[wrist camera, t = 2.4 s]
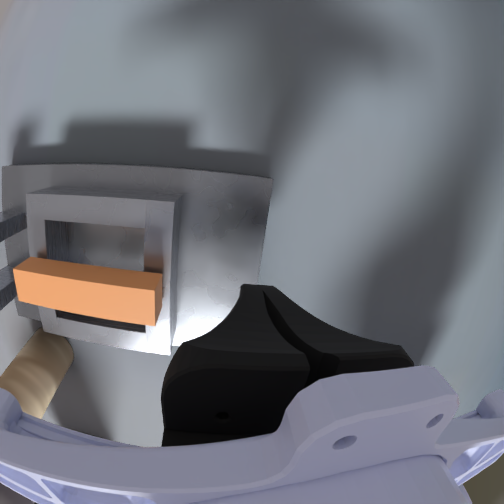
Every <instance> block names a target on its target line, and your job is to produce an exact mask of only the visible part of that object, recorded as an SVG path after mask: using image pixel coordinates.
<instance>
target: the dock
mask: <svg viewBox="0 0 504 504" xmlns="http://www.w3.org/2000/svg"><path fill="white" fill-rule="evenodd" d="M272 184H273V179H271V178H268V177H261V176H253V175H245V174H237V173H229V172H219V171H210V170H199V169H188V168H176V167H162V166H146V165H126V164H88V163H60V164H24V165H9V166H3V167H2V209H3V212H0V242H1V241H3V240H5V246H6V254H7V261H8V265H7V266H6V267H4V268H3V269H1V270H0V310H2V309H3V308H4V307H5V306H6V305H7V304H8V303H9V302H10V301H12V300H13V299H15V303H16V308H17V312H18V315H19V316H23V317H27V318H30V319H34V320H38V321H41V322H42V326H43V330H44V332H48V333H52V334H56V335H60V336H64V337H69V338H73V339H77V340H82V341H87V342H91V343H96V344H101V345H107V346H112V347H118V348H124V349H130V350H136V351H142V352H149V353H157V354H164V355H170V354H171V349H172V345H175V346H180V345H181V343H183V342H185V341H188V340H191V339H194V338H197V337H199V336H202V335H204V334H206V333H208V332H209V331H211V330H212V329H214V328H215V327H216V326H217V325H218V324H219V323H221V322H222V321H223V320H224V319H225V318H226V316H227V315H228V314H229V313H230V311H231V310H232V308H233V307H234V305H235V304H236V302H237V300H238V298H239V295H240V287H241V285H243V284H255V285H257V282H258V275H259V269H260V263H261V256H262V250H263V243H264V237H265V230H266V224H267V217H268V211H269V204H270V197H271V191H272ZM29 257H37V258H43V259H50V260H57V261H64V262H71V263H79V264H86V265H94V266H101V267H109V268H117V269H125V270H134V271H142V272H151V273H160V274H162V309H161V312H160V314H159V317H158V320H157V323H156V326H149V325H141V324H134V323H128V322H121V321H115V320H109V319H103V318H97V317H91V316H86V315H81V314H76V313H71V312H66V311H61V310H56V309H52V308H47V307H43V306H38V305H34V304H30V303H26V302H22V301H19V299H18V294H17V289H16V284H15V279H14V273H13V268H15V267H16V266H18V265H19V264H20V263H22V262H23V261H25V260H26V259H28V258H29Z"/></svg>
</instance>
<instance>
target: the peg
mask: <svg viewBox="0 0 504 504" xmlns="http://www.w3.org/2000/svg"><path fill="white" fill-rule="evenodd" d="M73 359H74V353H73V350H72V347H71V346H70V344H69V342H68V341H67V340H66V339H65V338H64V337H63V336H60V335H56V334H52V333H48V332H44V330H43V327H41V328H39V329H38V330H37V331H36V332H35V333H34V335H33V336H32V337H31V338H30V339H29V341H28V342H27V343H26V344H25V346H24V347H23V348H22V349H21V351H20V352H19V353H18V354H17V356H16V357H15V358H14V359H13V361H12V362H11V363H10V365H9V366H8V367H7V369H6V370H5V371H4V373H3V374H2V375H1V377H0V388H3V389H5V390H7V391H9V392H10V393H11V394H13V395H14V396H15V397H16V399H17V400H18V402H19V404H20V406H21V409H22V411H23V412H25V413H27V414H29V415H32V416H34V417H37V418H39V419H42V417H43V415H44V413H45V411H46V409H47V407H48V405H49V403H50V401H51V399H52V397H53V396H54V394H55V392H56V390H57V388H58V386H59V385H60V383H61V381H62V379H63V377H64V376H65V374H66V372H67V370H68V369H69V367H70V365H71V363H72V362H73Z"/></svg>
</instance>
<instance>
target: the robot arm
mask: <svg viewBox="0 0 504 504" xmlns="http://www.w3.org/2000/svg"><path fill="white" fill-rule="evenodd" d="M161 405H162V414H163V423H164V433H163V440H162V447H140V446H135V445H130V444H125V443H120V442H115V441H111V440H107V439H103V438H99V437H95V436H91V435H88V434H84V433H81V432H77V431H74V430H71V429H68V428H65V427H62V426H59V425H56V424H53V423H50V422H47V421H45V420H42V419H39V418H37V417H34V416H32V415H29V414H27V413H25V412H23V411H22V409H21V406H20V404H19V402H18V400H17V399H16V397H15V396H14V395H13V394H11V393H10V392H9V391H7V390H5V389H3V388H0V483H2V484H4V485H6V486H7V487H9V488H10V489H12V490H14V491H16V492H17V493H19V494H21V495H23V496H25V497H26V498H28V499H30V500H32V501H34V502H36V503H38V504H472V502H471V500H470V497H469V495H468V493H467V491H466V490H465V488H464V486H463V483H464V482H466V481H467V480H469V479H470V478H472V477H473V476H475V475H476V474H478V473H479V472H480V471H482V470H483V469H485V468H486V467H488V466H489V465H491V464H492V463H493V462H495V461H496V460H497V459H498V458H499V457H500V456H501V455H502V454H503V453H504V391H503V390H502V389H498V390H496V391H494V392H492V393H489V394H488V395H486V396H485V397H484V398H483V399H482V401H481V402H480V403H479V405H478V406H477V408H476V410H474V411H472V412H469V413H467V414H465V415H462V416H460V417H457V418H453V417H454V415H455V413H456V411H457V409H458V407H459V398H458V394H457V393H456V392H455V391H454V389H453V388H452V387H451V386H450V385H449V383H448V382H447V381H446V380H445V379H444V377H443V376H442V375H441V374H440V373H439V371H438V370H437V369H436V368H435V367H431V366H425V365H421V366H415V367H414V363H413V361H412V360H411V358H410V357H409V356H408V355H407V353H406V352H405V351H404V349H403V348H402V347H401V346H399V345H393V344H388V343H382V342H377V341H373V340H369V339H365V338H362V337H359V336H356V335H353V334H350V333H347V332H345V331H342V330H340V329H337V328H335V327H333V326H331V325H329V324H327V323H325V322H323V321H321V320H320V319H318V318H316V317H314V316H313V315H311V314H310V313H308V312H307V311H305V310H304V309H302V308H301V307H300V306H298V305H297V304H296V303H294V302H293V301H292V300H291V299H289V298H288V297H287V296H286V295H284V294H283V293H282V292H281V291H279V290H278V289H277V288H275V287H274V286H267V285H255V284H243V285H241V287H240V295H239V298H238V300H237V302H236V304H235V305H234V307H233V308H232V310H231V311H230V313H229V314H228V315H227V316H226V318H225V319H224V320H223V321H222V322H221V323H219V324H218V325H217V326H216V327H215V328H214V329H212V330H211V331H209V332H208V333H206V334H204V335H202V336H199V337H197V338H194V339H191V340H188V341H185V342H183V343H181V345H180V346H179V348H178V350H177V351H176V353H175V355H174V356H173V358H172V360H171V362H170V364H169V367H168V369H167V371H166V374H165V377H164V381H163V386H162V393H161Z"/></svg>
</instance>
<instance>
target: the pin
mask: <svg viewBox="0 0 504 504" xmlns="http://www.w3.org/2000/svg"><path fill="white" fill-rule="evenodd" d="M13 273H14V279H15V284H16V289H17V294H18V299H19V301H22V302H26V303H30V304H34V305H38V306H43V307H47V308H52V309H56V310H61V311H66V312H71V313H76V314H81V315H86V316H91V317H97V318H103V319H109V320H115V321H121V322H128V323H134V324H141V325H149V326H156V323H157V320H158V317H159V314H160V312H161V309H162V274H160V273H151V272H142V271H134V270H125V269H117V268H109V267H101V266H94V265H86V264H79V263H71V262H64V261H57V260H50V259H43V258H37V257H29V258H28V259H26V260H25V261H23V262H22V263H20V264H19V265H18V266H16V267H15V268H13Z"/></svg>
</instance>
